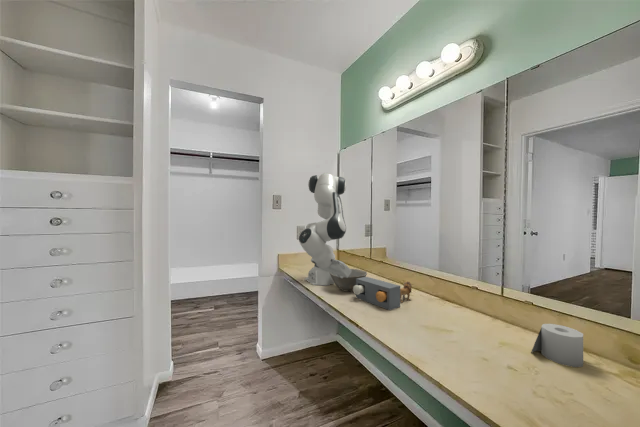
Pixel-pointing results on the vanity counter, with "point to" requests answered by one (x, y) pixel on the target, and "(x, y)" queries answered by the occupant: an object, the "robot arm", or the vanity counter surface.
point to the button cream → (359, 289)
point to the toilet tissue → (560, 344)
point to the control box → (375, 286)
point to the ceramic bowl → (348, 279)
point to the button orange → (381, 296)
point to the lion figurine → (405, 290)
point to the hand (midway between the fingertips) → (341, 276)
